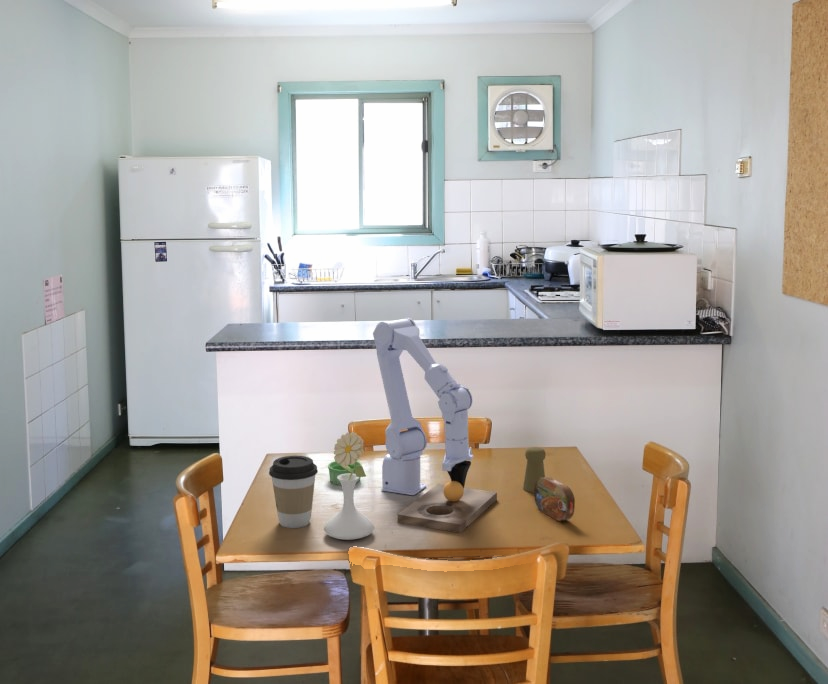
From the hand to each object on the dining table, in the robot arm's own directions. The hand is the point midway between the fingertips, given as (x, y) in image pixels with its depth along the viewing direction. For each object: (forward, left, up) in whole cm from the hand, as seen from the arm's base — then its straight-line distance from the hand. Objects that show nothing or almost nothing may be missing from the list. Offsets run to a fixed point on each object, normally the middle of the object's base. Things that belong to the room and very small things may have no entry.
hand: (458, 491), depth 243 cm
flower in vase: (-15, -28, -4) cm, 32 cm away
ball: (-1, -2, 0) cm, 2 cm away
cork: (+13, +20, -4) cm, 24 cm away
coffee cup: (-31, -26, -4) cm, 40 cm away
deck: (-1, -4, -4) cm, 6 cm away
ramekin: (-35, +6, -4) cm, 36 cm away
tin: (+23, +4, -4) cm, 24 cm away
